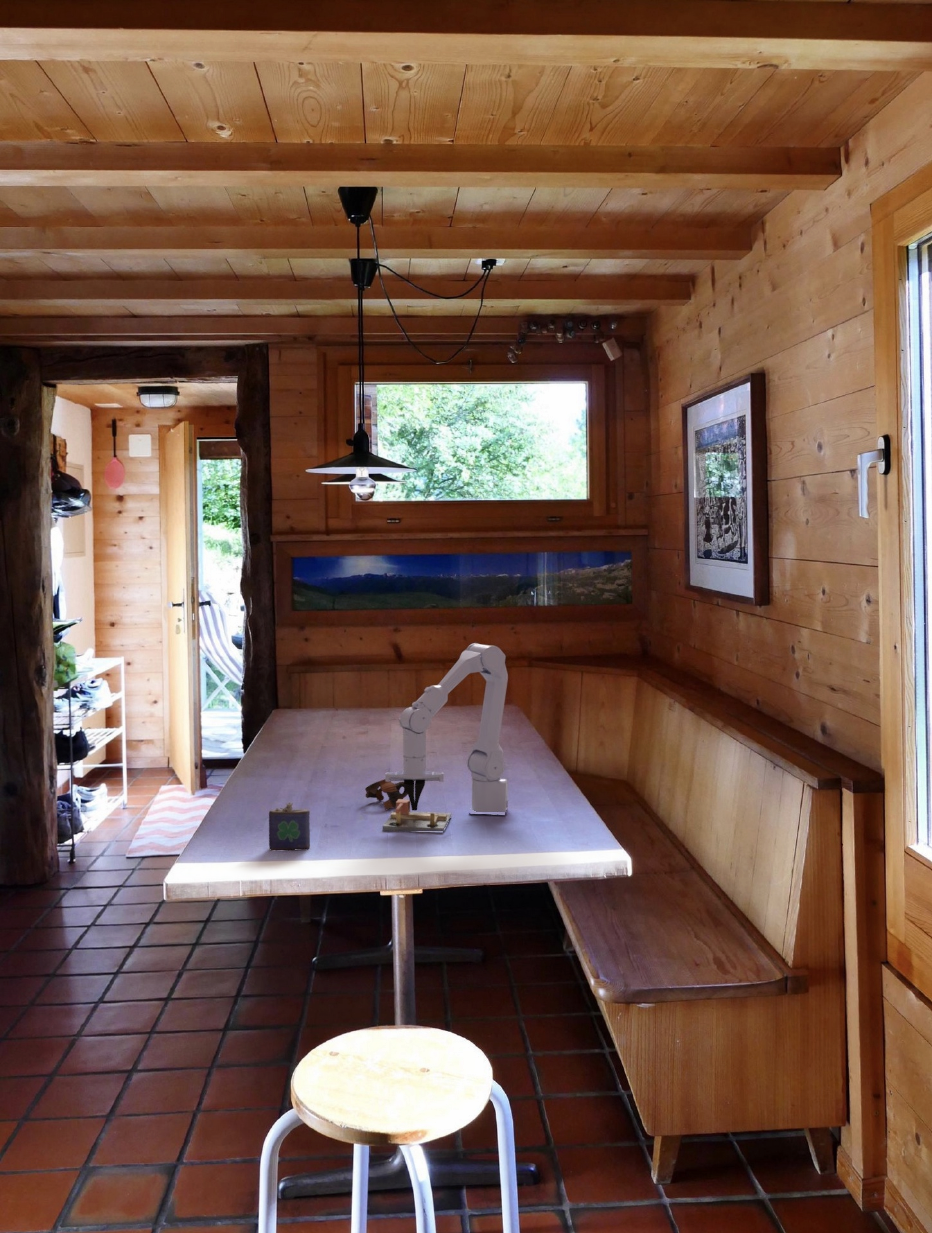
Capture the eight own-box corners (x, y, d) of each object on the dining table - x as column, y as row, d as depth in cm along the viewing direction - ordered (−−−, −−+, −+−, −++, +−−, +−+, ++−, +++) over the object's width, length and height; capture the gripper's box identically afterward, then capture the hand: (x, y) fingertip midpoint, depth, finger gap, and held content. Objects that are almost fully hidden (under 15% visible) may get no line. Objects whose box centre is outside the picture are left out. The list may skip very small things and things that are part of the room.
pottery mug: (376, 814, 248) (365, 784, 250) (370, 821, 257) (359, 792, 259) (417, 798, 253) (406, 769, 255) (410, 805, 261) (399, 777, 263)
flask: (310, 846, 218) (309, 800, 217) (309, 850, 215) (308, 804, 215) (269, 847, 217) (269, 801, 217) (268, 851, 214) (267, 805, 214)
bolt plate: (451, 817, 243) (451, 812, 243) (443, 833, 229) (443, 827, 229) (394, 815, 245) (394, 810, 245) (382, 830, 231) (382, 825, 231)
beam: (446, 818, 238) (446, 806, 238) (442, 826, 230) (442, 814, 230) (392, 816, 240) (392, 804, 239) (385, 824, 232) (385, 812, 232)
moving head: (410, 814, 240) (410, 799, 239) (403, 824, 230) (403, 809, 230) (398, 814, 240) (398, 799, 240) (390, 824, 231) (390, 808, 231)
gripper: (443, 752, 241) (443, 805, 242) (386, 752, 241) (386, 805, 242) (443, 758, 234) (443, 812, 235) (384, 758, 234) (384, 812, 235)
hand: (414, 809), depth 238 cm, fingers closed
